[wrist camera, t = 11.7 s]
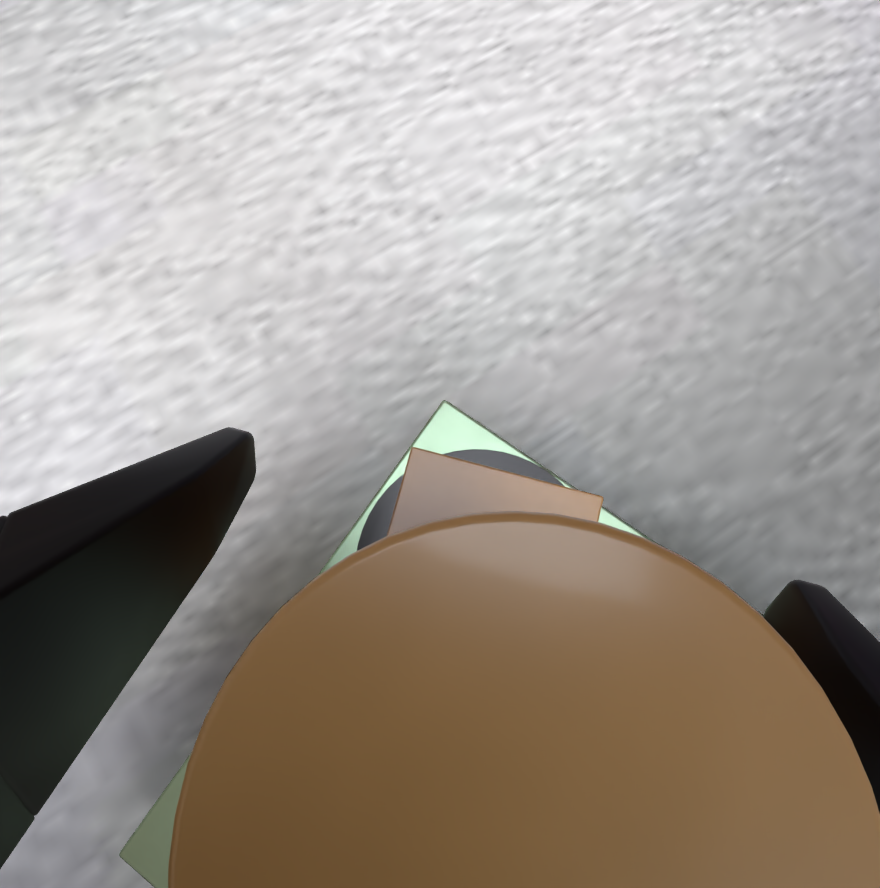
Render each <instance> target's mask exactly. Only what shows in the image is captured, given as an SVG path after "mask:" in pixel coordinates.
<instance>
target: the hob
mask: <svg viewBox="0 0 880 888" xmlns="http://www.w3.org/2000/svg"><path fill="white" fill-rule="evenodd" d="M412 447H416V448H420V449H424V450H428V451H432V452H435V453H439V454H443V455H447V456H451V457H454V458H458V459H462V460H466V461H470V462H473V463H477V464H481V465H485V466H489V467H492V468H496V469H500V470H504V471H508V472H511V473H515V474H519V475H523V476H527V477H530V478H534V479H538V480H542V481H546V482H549V483H553V484H557V485H561V486H565V487H568V488H572V489H576V488H575V487H573V486H572V485H570V484H569V483H567V482H566V481H564V480H563V479H561V478H560V477H558V476H557V475H555V474H554V473H552V472H551V471H549V470H548V469H546V468H545V467H544V466H542V465H541V464H539V463H538V462H536V461H535V460H533V459H532V458H530V457H529V456H527V455H526V454H524V453H523V452H521V451H520V450H518V449H517V448H515V447H514V446H513V445H511V444H510V443H508V442H507V441H505V440H504V439H502V438H501V437H499V436H498V435H496V434H495V433H493V432H492V431H490V430H489V429H487V428H486V427H484V426H483V425H482V424H480V423H479V422H477V421H476V420H474V419H473V418H471V417H470V416H468V415H467V414H465V413H464V412H462V411H461V410H459V409H458V408H456V407H455V406H453V405H452V404H451V403H449V402H448V401H446V400H444V401H442V402H441V404H440V405H439V407H438V408H437V409H436V411H435V412H434V414H433V415H432V416H431V418H430V419H429V421H428V422H427V423H426V425H425V426H424V428H423V429H422V430H421V432H420V433H419V435H418V436H417V437H416V439H415V440H414V442H413V443H412V444H411V446H410V447H409V449H408V450H407V451H406V453H405V454H404V456H403V457H402V458H401V460H400V461H399V463H398V464H397V465H396V467H395V468H394V470H393V471H392V472H391V474H390V475H389V477H388V478H387V479H386V481H385V482H384V484H383V485H382V486H381V488H380V489H379V491H378V492H377V493H376V495H375V496H374V498H373V499H372V500H371V502H370V503H369V505H368V506H367V507H366V509H365V510H364V511H363V513H362V514H361V516H360V517H359V518H358V520H357V521H356V523H355V524H354V525H353V527H352V528H351V530H350V531H349V532H348V534H347V535H346V537H345V538H344V539H343V541H342V542H341V544H340V545H339V546H338V548H337V549H336V551H335V552H334V553H333V555H332V556H331V558H330V559H329V560H328V562H327V563H326V565H325V566H324V567H323V569H322V570H321V572H320V573H319V574H318V575H320V574H321V573H323V572H324V571H326V570H327V569H329V568H330V567H332V566H333V565H335V564H336V563H338V562H339V561H341V560H342V559H344V558H345V557H347V556H348V555H350V554H352V553H354V552H356V551H358V550H360V549H362V548H364V547H366V546H368V545H370V544H372V543H374V542H376V541H378V540H380V539H382V538H384V537H386V536H387V532H388V529H389V525H390V522H391V518H392V514H393V511H394V507H395V504H396V500H397V497H398V493H399V490H400V486H401V482H402V479H403V475H404V472H405V468H406V465H407V461H408V458H409V454H410V451H411V448H412ZM576 490H578V489H576ZM598 522H600V523H603V524H606V525H609V526H612V527H615V528H618V529H621V530H624V531H627V532H630V533H633V534H636V535H639V536H641V537H644V538H646V539H648V540H650V541H652V542H654V541H653V540H651V539H650V538H648V537H647V536H645V535H644V534H642V533H641V532H640V531H638V530H637V529H635V528H634V527H632V526H631V525H629V524H628V523H626V522H625V521H623V520H622V519H620V518H619V517H617V516H616V515H614V514H613V513H611V512H610V511H609V510H607V509H606V508H604V507H603V506H602V507H601V512H600V516H599V520H598ZM654 543H656V542H654ZM656 544H657V543H656ZM658 545H659V544H658ZM760 614H761V613H760ZM761 615H762V614H761ZM762 616H764V615H762ZM191 753H192V752H191ZM191 753H190V755H189V756H188V758H187V759H186V760H185V762H184V763H183V765H182V766H181V767H180V769H179V770H178V772H177V773H176V774H175V776H174V777H173V779H172V780H171V781H170V783H169V784H168V786H167V787H166V788H165V790H164V791H163V793H162V794H161V795H160V797H159V798H158V800H157V801H156V802H155V804H154V805H153V807H152V808H151V809H150V811H149V812H148V814H147V815H146V816H145V818H144V819H143V821H142V822H141V823H140V825H139V826H138V828H137V829H136V830H135V832H134V833H133V835H132V836H131V837H130V839H129V840H128V841H127V843H126V844H125V846H124V847H123V848H122V850H121V851H120V854H119V856H120V857H121V858H122V859H123V860H124V861H125V862H127V863H128V864H129V865H130V866H131V867H132V868H133V869H134V870H135V871H137V872H138V873H139V874H140V875H141V876H142V877H143V878H144V879H146V880H147V881H148V882H149V883H150V884H151V885H152V886H153V887H155V888H168V864H169V857H170V849H171V841H172V834H173V826H174V818H175V813H176V808H177V804H178V800H179V796H180V792H181V788H182V784H183V780H184V776H185V772H186V768H187V764H188V761H189V759H190V756H191Z"/></svg>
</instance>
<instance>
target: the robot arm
mask: <svg viewBox="0 0 880 888" xmlns="http://www.w3.org/2000/svg"><path fill="white" fill-rule="evenodd" d="M255 474H256V461H255V447H254V438H253V436H252V434H251V433H249V432H247V431H243V430H239V429H235V428H230V427H228V428H224V429H222V430H219V431H217V432H214V433H212V434H209V435H206V436H204V437H201V438H199V439H196V440H194V441H191V442H189V443H186V444H184V445H181V446H179V447H176V448H174V449H171V450H168V451H166V452H163V453H161V454H158V455H156V456H153V457H151V458H148V459H146V460H143V461H141V462H138V463H136V464H133V465H130V466H128V467H125V468H123V469H120V470H118V471H115V472H113V473H110V474H108V475H105V476H103V477H100V478H98V479H95V480H92V481H90V482H87V483H85V484H82V485H80V486H77V487H75V488H72V489H70V490H67V491H65V492H62V493H59V494H57V495H54V496H52V497H49V498H47V499H44V500H42V501H39V502H37V503H34V504H32V505H29V506H26V507H24V508H21V509H19V510H16V511H14V512H11V513H10V514H9V515H8V517H7V516H1V517H0V869H1V867H2V866H3V864H4V863H5V861H6V860H7V858H8V857H9V856H10V854H11V853H12V851H13V850H14V848H15V847H16V845H17V844H18V842H19V841H20V839H21V838H22V837H23V835H24V834H25V832H26V831H27V829H28V828H29V826H30V825H31V823H32V822H33V820H34V816H35V815H37V814H38V812H39V811H40V810H41V808H42V807H43V805H44V804H45V802H46V801H47V799H48V798H49V796H50V795H51V793H52V792H53V791H54V789H55V788H56V786H57V785H58V783H59V782H60V780H61V779H62V777H63V776H64V774H65V773H66V772H67V770H68V769H69V767H70V766H71V764H72V763H73V761H74V760H75V758H76V757H77V755H78V754H79V753H80V751H81V750H82V748H83V747H84V745H85V744H86V742H87V741H88V739H89V738H90V736H91V735H92V734H93V732H94V731H95V729H96V728H97V726H98V725H99V723H100V722H101V720H102V719H103V717H104V716H105V715H106V713H107V712H108V710H109V709H110V707H111V706H112V704H113V703H114V701H115V700H116V698H117V697H118V695H119V694H120V693H121V691H122V690H123V688H124V687H125V685H126V684H127V682H128V681H129V679H130V678H131V676H132V675H133V674H134V672H135V671H136V669H137V668H138V666H139V665H140V663H141V662H142V660H143V659H144V657H145V656H146V655H147V653H148V652H149V650H150V649H151V647H152V646H153V644H154V643H155V641H156V640H157V638H158V637H159V636H160V634H161V633H162V631H163V630H164V628H165V627H166V625H167V624H168V622H169V621H170V619H171V618H172V617H173V615H174V614H175V612H176V611H177V609H178V608H179V606H180V605H181V603H182V602H183V600H184V599H185V598H186V596H187V595H188V593H189V592H190V590H191V589H192V587H193V586H194V584H195V583H196V581H197V580H198V579H199V577H200V576H201V574H202V573H203V571H204V570H205V568H206V567H207V565H208V564H209V562H210V561H211V559H212V558H213V556H214V554H215V553H216V551H217V549H218V547H219V546H220V544H221V542H222V540H223V538H224V536H225V534H226V533H227V531H228V529H229V527H230V525H231V523H232V521H233V519H234V517H235V515H236V514H237V512H238V510H239V508H240V506H241V504H242V502H243V500H244V498H245V497H246V495H247V493H248V491H249V489H250V487H251V485H252V483H253V481H254V478H255ZM763 618H764V619H765V620H766V621H767V622H768V623H769V624H770V625H771V626H772V627H773V628H774V629H775V630H776V631H777V632H778V633H779V634H780V636H781V637H782V638H783V639H784V640H785V641H786V642H787V643H788V644H789V645H790V646H791V647H792V648H793V650H794V651H795V652H796V654H797V655H798V656H799V658H800V659H801V660H802V662H803V663H804V664H805V666H806V667H807V668H808V670H809V671H810V673H811V674H812V675H813V677H814V678H815V679H816V681H817V682H818V683H819V685H820V686H821V687H822V689H823V690H824V692H825V694H826V696H827V697H828V699H829V701H830V703H831V704H832V706H833V708H834V710H835V711H836V713H837V715H838V717H839V718H840V720H841V722H842V724H843V725H844V727H845V729H846V730H847V732H848V734H849V736H850V738H851V740H852V742H853V744H854V747H855V749H856V751H857V754H858V756H859V758H860V761H861V763H862V765H863V768H864V770H865V772H866V775H867V777H868V779H869V782H870V784H871V786H872V789H873V793H874V796H875V799H876V803H877V806H878V810H879V813H880V642H879V641H878V640H877V639H876V638H875V637H874V636H873V635H872V634H871V633H870V632H869V631H868V630H867V629H866V628H865V627H864V626H863V625H862V624H861V623H860V622H859V621H858V620H857V619H856V618H855V617H854V616H853V615H852V614H851V613H850V612H849V611H848V610H847V609H846V608H845V607H844V606H843V605H842V604H841V603H840V602H839V601H838V600H837V599H836V598H835V597H834V596H833V595H832V594H831V593H830V592H829V591H828V590H827V589H825V588H824V587H822V586H820V585H816V584H813V583H809V582H805V581H802V580H793V581H791V582H789V583H788V584H787V586H786V587H785V588H784V589H783V590H782V591H781V593H780V594H779V595H778V596H777V597H776V598H775V600H774V601H773V602H772V603H771V604H770V606H769V607H768V608H767V609H766V611H765V613H764V616H763Z"/></svg>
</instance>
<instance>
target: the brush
mask: <svg viewBox="0 0 880 888" xmlns="http://www.w3.org/2000/svg"><path fill="white" fill-rule="evenodd" d="M602 503H603V497H602V496H599V495H595V494H591V493H587V492H584V491H580V490H576V489H572V488H568V487H565V486H561V485H557V484H553V483H549V482H546V481H542V480H538V479H534V478H530V477H527V476H523V475H519V474H515V473H511V472H508V471H504V470H500V469H496V468H492V467H489V466H485V465H481V464H477V463H473V462H470V461H466V460H462V459H458V458H454V457H451V456H447V455H443V454H439V453H435V452H432V451H428V450H424V449H420V448H416V447H412V448H411V451H410V454H409V458H408V461H407V465H406V468H405V472H404V475H403V479H402V482H401V486H400V490H399V493H398V497H397V500H396V504H395V507H394V511H393V514H392V518H391V522H390V525H389V529H388V532H387V536H386V537H384V538H382V539H380V540H378V541H376V542H374V543H372V544H370V545H368V546H366V547H364V548H362V549H360V550H358V551H356V552H354V553H352V554H350V555H348V556H347V557H345V558H344V559H342V560H341V561H339V562H338V563H336V564H335V565H333V566H332V567H330V568H329V569H327V570H326V571H324V572H323V573H321V574H320V575H318V576H317V577H315V578H314V579H313V580H312V581H311V582H309V583H308V584H307V585H306V586H305V587H304V588H303V589H301V590H300V591H299V592H298V593H297V594H296V595H295V596H293V597H292V598H291V599H290V600H289V601H288V602H287V603H285V604H284V605H283V606H282V607H281V608H280V609H279V610H278V611H277V612H276V614H275V615H274V616H273V617H272V618H271V619H270V620H269V621H268V623H267V624H266V625H265V626H264V627H263V628H262V629H261V630H260V632H259V633H258V634H257V635H256V636H255V637H254V638H253V639H252V641H251V642H250V644H249V645H248V647H247V648H246V649H245V651H244V652H243V654H242V655H241V657H240V658H239V660H238V661H237V662H236V664H235V665H234V667H233V668H232V670H231V671H230V673H229V674H228V676H227V677H226V679H225V681H224V683H223V684H222V686H221V688H220V690H219V692H218V694H217V696H216V698H215V700H214V702H213V704H212V706H211V707H210V709H209V711H208V713H207V715H206V717H205V719H204V722H203V724H202V727H201V730H200V732H199V735H198V737H197V740H196V743H195V745H194V748H193V751H192V753H191V756H190V759H189V761H188V764H187V768H186V772H185V776H184V780H183V784H182V788H181V792H180V796H179V800H178V804H177V808H176V813H175V818H174V826H173V834H172V841H171V849H170V857H169V864H168V888H880V813H879V810H878V806H877V803H876V799H875V796H874V793H873V789H872V786H871V784H870V782H869V779H868V777H867V775H866V772H865V770H864V768H863V765H862V763H861V761H860V758H859V756H858V754H857V751H856V749H855V747H854V744H853V742H852V740H851V738H850V736H849V734H848V732H847V730H846V729H845V727H844V725H843V724H842V722H841V720H840V718H839V717H838V715H837V713H836V711H835V710H834V708H833V706H832V704H831V703H830V701H829V699H828V697H827V696H826V694H825V692H824V690H823V689H822V687H821V686H820V685H819V683H818V682H817V681H816V679H815V678H814V677H813V675H812V674H811V673H810V671H809V670H808V668H807V667H806V666H805V664H804V663H803V662H802V660H801V659H800V658H799V656H798V655H797V654H796V652H795V651H794V650H793V648H792V647H791V646H790V645H789V644H788V643H787V642H786V641H785V640H784V639H783V638H782V637H781V636H780V634H779V633H778V632H777V631H776V630H775V629H774V628H773V627H772V626H771V625H770V624H769V623H768V622H767V621H766V620H765V619H764V618H763V616H762V615H761V614H760V613H759V612H758V611H756V610H755V609H754V608H753V607H752V606H750V605H749V604H748V603H747V602H746V601H744V600H743V599H742V598H741V597H740V596H738V595H737V594H736V593H735V592H734V591H732V590H731V589H730V588H729V587H728V586H726V585H725V584H724V583H723V582H721V581H720V580H718V579H717V578H715V577H714V576H712V575H711V574H709V573H708V572H706V571H704V570H703V569H701V568H700V567H698V566H697V565H695V564H694V563H692V562H691V561H689V560H687V559H686V558H684V557H683V556H681V555H679V554H677V553H675V552H673V551H670V550H668V549H666V548H664V547H662V546H660V545H658V544H656V543H654V542H652V541H650V540H648V539H646V538H644V537H641V536H639V535H636V534H633V533H630V532H627V531H624V530H621V529H618V528H615V527H612V526H609V525H606V524H603V523H600V522H598V520H599V516H600V512H601V507H602Z"/></svg>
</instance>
